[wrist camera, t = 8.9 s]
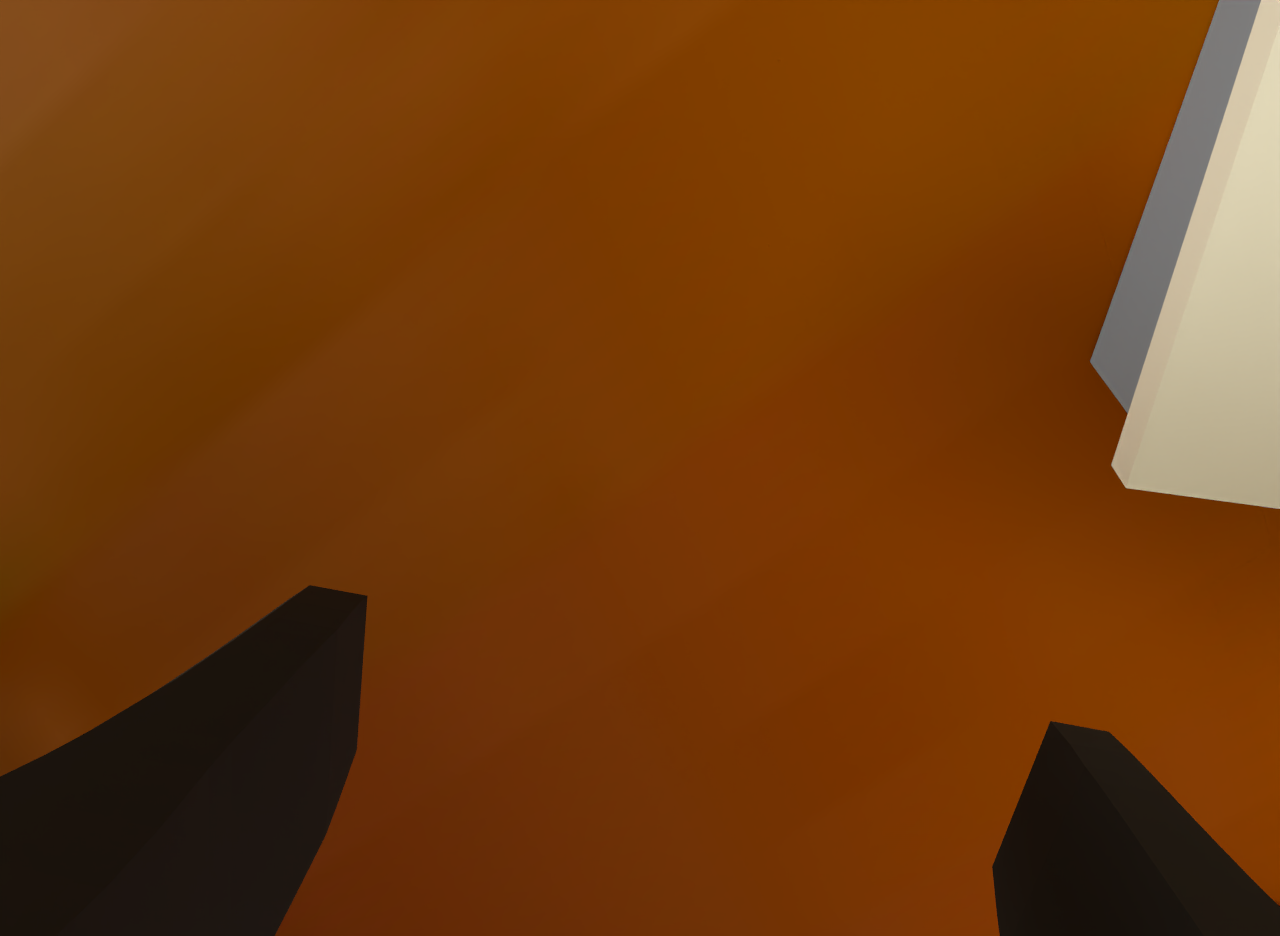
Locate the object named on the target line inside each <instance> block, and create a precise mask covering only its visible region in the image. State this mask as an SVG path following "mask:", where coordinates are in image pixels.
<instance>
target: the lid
mask: <svg viewBox="0 0 1280 936" xmlns="http://www.w3.org/2000/svg"><path fill="white" fill-rule="evenodd" d="M1111 466H1112V467H1113V469H1114V470H1115V472H1116V473H1117V475H1118V476H1119V478H1120V480H1121V481H1122V483H1123V484H1124V486H1125V487H1126V488H1129V489H1137V490H1144V491H1152V492H1159V493H1166V494H1174V495H1181V496H1189V497H1196V498H1203V499H1211V500H1218V501H1226V502H1233V503H1241V504H1248V505H1255V506H1263V507H1270V508H1278V509H1280V0H1261V2H1260V5H1259V8H1258V11H1257V15H1256V18H1255V21H1254V24H1253V27H1252V30H1251V33H1250V36H1249V39H1248V42H1247V46H1246V49H1245V52H1244V55H1243V58H1242V61H1241V64H1240V67H1239V70H1238V73H1237V77H1236V80H1235V83H1234V86H1233V89H1232V92H1231V95H1230V98H1229V101H1228V105H1227V108H1226V111H1225V114H1224V117H1223V120H1222V123H1221V126H1220V129H1219V132H1218V136H1217V139H1216V142H1215V145H1214V148H1213V151H1212V154H1211V157H1210V160H1209V163H1208V167H1207V170H1206V173H1205V176H1204V179H1203V182H1202V185H1201V188H1200V191H1199V194H1198V198H1197V201H1196V204H1195V207H1194V210H1193V213H1192V216H1191V219H1190V222H1189V226H1188V229H1187V232H1186V235H1185V238H1184V241H1183V244H1182V247H1181V250H1180V253H1179V257H1178V260H1177V263H1176V266H1175V269H1174V272H1173V275H1172V278H1171V281H1170V284H1169V288H1168V291H1167V294H1166V297H1165V300H1164V303H1163V306H1162V309H1161V312H1160V315H1159V319H1158V322H1157V325H1156V328H1155V331H1154V334H1153V337H1152V340H1151V343H1150V347H1149V350H1148V353H1147V356H1146V359H1145V362H1144V365H1143V368H1142V371H1141V374H1140V378H1139V381H1138V384H1137V387H1136V390H1135V393H1134V396H1133V399H1132V402H1131V405H1130V409H1129V412H1128V415H1127V418H1126V421H1125V424H1124V427H1123V430H1122V433H1121V437H1120V440H1119V443H1118V446H1117V449H1116V452H1115V455H1114V458H1113V461H1112V464H1111Z"/></svg>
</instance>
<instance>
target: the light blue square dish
mask: <svg viewBox="0 0 1280 936" xmlns="http://www.w3.org/2000/svg"><path fill="white" fill-rule="evenodd" d="M1260 2H1261V0H1219V3H1218V6H1217V8H1216V11H1215V14H1214V17H1213V20H1212V22H1211V25H1210V28H1209V31H1208V34H1207V36H1206V39H1205V42H1204V45H1203V48H1202V50H1201V53H1200V56H1199V59H1198V61H1197V64H1196V67H1195V70H1194V73H1193V75H1192V78H1191V81H1190V84H1189V87H1188V89H1187V92H1186V95H1185V98H1184V101H1183V103H1182V106H1181V109H1180V112H1179V115H1178V117H1177V120H1176V123H1175V126H1174V129H1173V131H1172V134H1171V137H1170V140H1169V143H1168V145H1167V148H1166V151H1165V154H1164V156H1163V159H1162V162H1161V165H1160V168H1159V170H1158V173H1157V176H1156V179H1155V182H1154V184H1153V187H1152V190H1151V193H1150V196H1149V198H1148V201H1147V204H1146V207H1145V210H1144V212H1143V215H1142V218H1141V221H1140V224H1139V226H1138V229H1137V232H1136V235H1135V237H1134V240H1133V243H1132V246H1131V249H1130V251H1129V254H1128V257H1127V260H1126V263H1125V265H1124V268H1123V271H1122V274H1121V277H1120V279H1119V282H1118V285H1117V288H1116V291H1115V293H1114V296H1113V299H1112V302H1111V305H1110V307H1109V310H1108V313H1107V316H1106V319H1105V321H1104V324H1103V327H1102V330H1101V332H1100V335H1099V338H1098V341H1097V344H1096V346H1095V349H1094V352H1093V355H1092V358H1091V360H1090V363H1091V364H1092V365H1093V367H1094V368H1095V369H1096V371H1097V372H1098V374H1099V375H1100V376H1101V378H1102V379H1103V380H1104V382H1105V383H1106V384H1107V386H1108V387H1109V389H1110V390H1111V391H1112V393H1113V394H1114V395H1115V397H1116V398H1117V399H1118V401H1119V402H1120V404H1121V405H1122V406H1123V408H1124V409H1125V410H1126V412H1127V413H1128V412H1129V409H1130V405H1131V402H1132V399H1133V396H1134V393H1135V390H1136V387H1137V384H1138V381H1139V378H1140V374H1141V371H1142V368H1143V365H1144V362H1145V359H1146V356H1147V353H1148V350H1149V347H1150V343H1151V340H1152V337H1153V334H1154V331H1155V328H1156V325H1157V322H1158V319H1159V315H1160V312H1161V309H1162V306H1163V303H1164V300H1165V297H1166V294H1167V291H1168V288H1169V284H1170V281H1171V278H1172V275H1173V272H1174V269H1175V266H1176V263H1177V260H1178V257H1179V253H1180V250H1181V247H1182V244H1183V241H1184V238H1185V235H1186V232H1187V229H1188V226H1189V222H1190V219H1191V216H1192V213H1193V210H1194V207H1195V204H1196V201H1197V198H1198V194H1199V191H1200V188H1201V185H1202V182H1203V179H1204V176H1205V173H1206V170H1207V167H1208V163H1209V160H1210V157H1211V154H1212V151H1213V148H1214V145H1215V142H1216V139H1217V136H1218V132H1219V129H1220V126H1221V123H1222V120H1223V117H1224V114H1225V111H1226V108H1227V105H1228V101H1229V98H1230V95H1231V92H1232V89H1233V86H1234V83H1235V80H1236V77H1237V73H1238V70H1239V67H1240V64H1241V61H1242V58H1243V55H1244V52H1245V49H1246V46H1247V42H1248V39H1249V36H1250V33H1251V30H1252V27H1253V24H1254V21H1255V18H1256V15H1257V11H1258V8H1259V5H1260Z"/></svg>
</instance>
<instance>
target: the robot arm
mask: <svg viewBox="0 0 1280 936" xmlns="http://www.w3.org/2000/svg"><path fill="white" fill-rule="evenodd" d="M366 607H367V596H365V595H360V594H354V593H349V592H343V591H338V590H332V589H327V588H322V587H316V586H311V585H310V586H308V587H307V588H305V589H304V590H302V591H301V592H299V593H298V594H296V595H295V596H293V597H292V598H290V599H289V600H287V601H286V602H284V603H283V604H281V605H280V606H279V607H277V608H276V609H274V610H273V611H272V612H270V613H269V614H267V615H266V616H265V617H263V618H262V619H260V620H259V621H258V622H256V623H255V624H253V625H252V626H251V627H249V628H248V629H246V630H245V631H244V632H242V633H241V634H239V635H238V636H237V637H235V638H234V639H232V640H231V641H229V642H228V643H227V644H225V645H224V646H222V647H221V648H219V649H218V650H217V651H215V652H214V653H212V654H211V655H209V656H208V657H206V658H205V659H203V660H202V661H200V662H199V663H197V664H196V665H194V666H193V667H191V668H190V669H188V670H187V671H185V672H184V673H182V674H181V675H179V676H178V677H176V678H175V679H173V680H172V681H170V682H169V683H167V684H166V685H164V686H163V687H161V688H160V689H158V690H157V691H155V692H153V693H152V694H150V695H149V696H147V697H145V698H144V699H142V700H140V701H139V702H137V703H135V704H134V705H132V706H130V707H129V708H127V709H125V710H124V711H122V712H120V713H119V714H117V715H115V716H114V717H112V718H110V719H109V720H107V721H105V722H104V723H102V724H100V725H99V726H97V727H95V728H94V729H92V730H90V731H89V732H87V733H85V734H83V735H81V736H80V737H78V738H76V739H74V740H72V741H70V742H69V743H67V744H65V745H63V746H61V747H59V748H57V749H55V750H53V751H51V752H50V753H48V754H46V755H44V756H42V757H40V758H38V759H36V760H34V761H32V762H29V763H27V764H25V765H23V766H21V767H19V768H17V769H15V770H13V771H11V772H9V773H7V774H5V775H3V776H1V777H0V936H275V934H276V932H277V930H278V928H279V926H280V924H281V922H282V920H283V918H284V916H285V914H286V912H287V911H288V909H289V907H290V905H291V903H292V901H293V899H294V897H295V895H296V893H297V891H298V889H299V887H300V885H301V883H302V881H303V879H304V877H305V875H306V873H307V871H308V869H309V867H310V865H311V863H312V861H313V859H314V857H315V855H316V853H317V851H318V849H319V847H320V845H321V843H322V841H323V839H324V837H325V835H326V833H327V830H328V827H329V825H330V822H331V819H332V817H333V814H334V811H335V809H336V806H337V803H338V801H339V798H340V795H341V793H342V790H343V787H344V784H345V781H346V778H347V776H348V773H349V770H350V767H351V764H352V761H353V759H354V756H355V753H356V750H357V737H358V723H359V708H360V694H361V679H362V665H363V650H364V636H365V621H366ZM992 868H993V878H994V888H995V898H996V908H997V917H998V925H999V933H1000V936H1280V907H1279V906H1278V905H1277V904H1276V903H1275V902H1274V901H1273V900H1272V899H1271V898H1270V897H1269V896H1268V895H1267V894H1266V893H1265V892H1264V891H1263V890H1262V889H1261V888H1260V887H1259V886H1258V885H1257V884H1256V883H1255V882H1254V881H1253V880H1252V879H1251V878H1250V877H1249V876H1248V875H1247V874H1246V873H1245V872H1244V871H1243V870H1242V869H1241V868H1240V867H1239V866H1238V865H1237V864H1236V862H1235V861H1234V860H1233V859H1232V858H1231V857H1230V856H1229V855H1228V854H1227V853H1226V852H1225V851H1224V850H1223V849H1222V848H1221V847H1220V846H1219V845H1218V844H1217V843H1216V842H1215V841H1214V840H1213V839H1212V838H1211V837H1210V835H1209V834H1208V833H1207V832H1206V831H1205V830H1204V829H1203V828H1202V827H1201V826H1200V825H1199V824H1198V823H1197V822H1196V821H1195V820H1194V819H1193V818H1192V816H1191V815H1190V814H1189V813H1188V812H1187V811H1186V810H1185V809H1184V808H1183V807H1182V806H1181V805H1180V804H1179V803H1178V802H1177V801H1176V800H1175V798H1174V797H1173V796H1172V795H1171V794H1170V793H1169V792H1168V791H1167V790H1166V789H1165V788H1164V787H1163V786H1162V785H1161V784H1160V783H1159V782H1158V780H1157V779H1156V778H1155V777H1154V776H1153V775H1152V774H1151V773H1150V772H1149V771H1148V770H1147V769H1146V768H1145V767H1144V766H1143V765H1142V764H1141V763H1140V762H1139V761H1138V760H1137V759H1136V758H1135V757H1134V756H1133V755H1132V754H1131V753H1130V752H1129V751H1128V750H1127V749H1126V748H1125V747H1124V746H1123V745H1122V744H1121V743H1120V742H1119V741H1118V740H1117V739H1116V738H1115V737H1114V736H1113V735H1112V734H1111V733H1109V732H1107V731H1101V730H1096V729H1090V728H1085V727H1079V726H1074V725H1068V724H1063V723H1058V722H1052V721H1050V724H1049V726H1048V729H1047V731H1046V734H1045V736H1044V739H1043V741H1042V744H1041V746H1040V749H1039V751H1038V754H1037V756H1036V759H1035V761H1034V764H1033V766H1032V769H1031V771H1030V774H1029V776H1028V779H1027V781H1026V784H1025V786H1024V789H1023V791H1022V794H1021V796H1020V799H1019V801H1018V804H1017V806H1016V809H1015V811H1014V814H1013V816H1012V819H1011V821H1010V824H1009V826H1008V829H1007V831H1006V834H1005V836H1004V839H1003V841H1002V844H1001V846H1000V849H999V851H998V854H997V856H996V859H995V861H994V864H993V866H992Z"/></svg>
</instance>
